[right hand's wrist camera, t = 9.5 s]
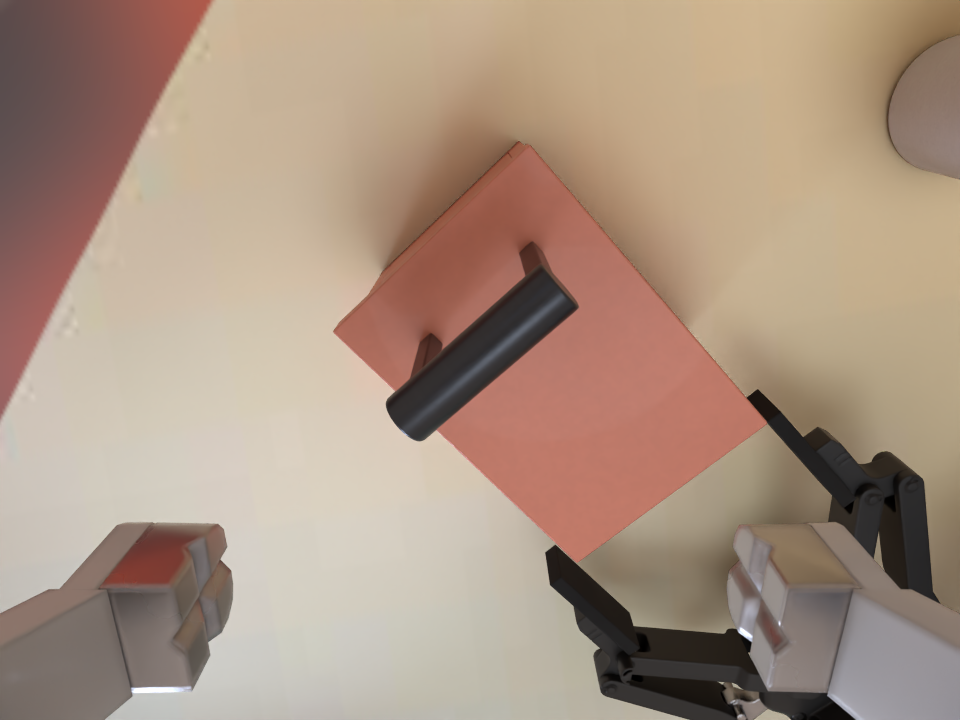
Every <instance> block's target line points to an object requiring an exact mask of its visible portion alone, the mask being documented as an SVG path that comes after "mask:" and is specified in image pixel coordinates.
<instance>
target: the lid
mask: <svg viewBox="0 0 960 720" xmlns="http://www.w3.org/2000/svg"><path fill="white" fill-rule="evenodd" d="M333 332H334V334H335V335H337V336H338V337H339V338H340V339H341V340H342V341H343V342H344V343H345V344H346V345H347V346H348V347H349V348H350V349H351V350H352V351H353V352H354V353H356V354H357V355H358V356H359V357H360V358H361V359H362V360H363V361H364V362H365V363H366V364H367V365H368V366H369V367H370V368H371V369H372V370H373V371H375V372H376V373H377V374H378V375H379V376H380V377H381V378H382V379H383V380H384V381H385V382H386V383H387V384H388V385H389V386H390V387H391V388H392V389H394V390H395V391H396V392H394V393H393V394H392V395H391V396H390V397H389V398H388V399H387V401H386V408H387V411H388V413H389V415H390V417H391V419H392V420H393V422H394V423H395V424H396V426H397V427H398V428H399V429H400V430H401V431H402V432H403V433H404V434H406V435H407V436H408V437H410V438H411V439H413V440H416V441H423V440H425V439H426V438H427V437H428V436H430V435H431V434H432V433H433V432H434V431H435V430H437V431H438V432H439V433H440V434H441V435H442V436H443V437H444V438H445V439H446V440H447V441H448V442H450V443H451V444H452V445H453V446H454V447H455V448H456V449H457V450H458V451H459V452H460V453H461V454H462V455H463V456H464V457H465V458H466V459H467V460H469V461H470V462H471V463H472V464H473V465H474V466H475V467H476V468H477V469H478V470H479V471H480V472H481V473H482V474H483V475H484V476H485V477H486V478H488V479H489V480H490V481H491V482H492V483H493V484H494V485H495V486H496V487H497V488H498V489H499V490H500V491H501V492H502V493H503V494H504V495H505V496H507V497H508V498H509V499H510V500H511V501H512V502H513V503H514V504H515V505H516V506H517V507H518V508H519V509H520V510H521V511H522V512H523V513H525V514H526V515H527V516H528V517H529V518H530V519H531V520H532V521H533V522H534V523H535V524H536V525H537V526H538V527H539V528H540V529H541V530H542V531H544V532H545V533H546V534H547V535H548V536H549V537H550V538H551V539H552V540H553V541H554V542H555V543H556V544H557V545H558V546H559V547H560V548H561V549H563V550H564V551H565V552H566V553H567V554H568V555H569V556H570V557H571V558H572V559H573V560H574V561H575V562H576V563H577V562H579V561H580V560H582V559H583V558H585V557H586V556H587V555H589V554H590V553H591V552H593V551H594V550H595V549H597V548H598V547H600V546H601V545H602V544H604V543H605V542H606V541H608V540H609V539H610V538H612V537H613V536H615V535H616V534H617V533H619V532H620V531H621V530H623V529H624V528H626V527H627V526H628V525H630V524H631V523H632V522H634V521H635V520H636V519H638V518H639V517H641V516H642V515H643V514H645V513H646V512H647V511H649V510H650V509H652V508H653V507H654V506H656V505H657V504H658V503H660V502H661V501H662V500H664V499H665V498H667V497H668V496H669V495H671V494H672V493H673V492H675V491H676V490H677V489H679V488H680V487H682V486H683V485H684V484H686V483H687V482H688V481H690V480H691V479H693V478H694V477H695V476H697V475H698V474H699V473H701V472H702V471H703V470H705V469H706V468H708V467H709V466H710V465H712V464H713V463H714V462H716V461H717V460H719V459H720V458H721V457H723V456H724V455H725V454H727V453H728V452H729V451H731V450H732V449H734V448H735V447H736V446H738V445H739V444H740V443H742V442H743V441H744V440H746V439H747V438H749V437H750V436H751V435H753V434H754V433H755V432H757V431H758V430H760V429H761V428H762V427H764V426H765V425H766V424H767V421H766V420H765V419H764V418H763V417H762V416H761V414H760V413H759V412H758V411H757V410H756V409H755V407H754V406H753V405H752V404H751V403H750V401H749V400H748V399H747V398H746V397H745V396H744V394H743V393H742V392H741V391H740V390H739V389H738V387H737V386H736V385H735V384H734V383H733V382H732V380H731V379H730V378H729V377H728V376H727V375H726V373H725V372H724V371H723V370H722V369H721V368H720V366H719V365H718V364H717V363H716V362H715V361H714V359H713V358H712V357H711V356H710V355H709V354H708V352H707V351H706V350H705V349H704V348H703V347H702V345H701V344H700V343H699V342H698V341H697V340H696V338H695V337H694V336H693V335H692V334H691V333H690V331H689V330H688V329H687V328H686V327H685V326H684V324H683V323H682V322H681V321H680V320H679V318H678V317H677V316H676V315H675V314H674V313H673V311H672V310H671V309H670V308H669V307H668V306H667V304H666V303H665V302H664V301H663V300H662V299H661V297H660V296H659V295H658V294H657V293H656V292H655V290H654V289H653V288H652V287H651V286H650V285H649V283H648V282H647V281H646V280H645V279H644V278H643V276H642V275H641V274H640V273H639V272H638V271H637V269H636V268H635V267H634V266H633V265H632V264H631V262H630V261H629V260H628V259H627V258H626V257H625V255H624V254H623V253H622V252H621V251H620V250H619V248H618V247H617V246H616V245H615V244H614V243H613V241H612V240H611V239H610V238H609V237H608V235H607V234H606V233H605V232H604V231H603V230H602V228H601V227H600V226H599V225H598V224H597V223H596V221H595V220H594V219H593V218H592V217H591V216H590V214H589V213H588V212H587V211H586V210H585V209H584V207H583V206H582V205H581V204H580V203H579V202H578V200H577V199H576V198H575V197H574V196H573V195H572V193H571V192H570V191H569V190H568V189H567V188H566V186H565V185H564V184H563V183H562V182H561V181H560V179H559V178H558V177H557V176H556V175H555V174H554V172H553V171H552V170H551V169H550V168H549V167H548V165H547V164H546V163H545V162H544V161H543V160H542V158H541V157H540V156H539V155H538V154H537V153H536V151H535V150H534V149H533V148H532V147H531V146H530V145H528V144H526V145H525V146H524V147H523V148H522V149H521V150H520V151H519V152H518V153H516V154H515V155H514V156H513V157H512V158H511V159H510V160H509V161H508V162H507V163H506V164H505V165H504V166H503V167H502V168H501V169H500V170H499V171H498V172H497V173H496V174H494V175H493V176H492V177H491V178H490V179H489V180H488V181H487V182H486V183H485V184H484V185H483V186H482V187H481V188H480V189H479V190H478V191H477V192H476V193H475V194H473V195H472V196H471V197H470V198H469V199H468V200H467V201H466V202H465V203H464V204H463V205H462V206H461V207H460V208H459V209H458V210H457V211H456V212H455V213H454V214H453V215H451V216H450V217H449V218H448V219H447V220H446V221H445V222H444V223H443V224H442V225H441V226H440V227H439V228H438V229H437V230H436V231H435V232H434V233H433V234H432V235H430V236H429V237H428V238H427V239H426V240H425V241H424V242H423V243H422V244H421V245H420V246H419V247H418V248H417V249H416V250H415V251H414V252H413V253H412V254H411V255H410V256H408V257H407V258H406V259H405V260H404V261H403V262H402V263H401V264H400V265H399V266H398V267H397V268H396V269H395V270H394V271H393V272H392V273H391V274H390V275H389V276H387V277H386V278H385V279H384V280H383V281H382V282H381V283H380V284H379V285H378V286H377V287H376V288H375V289H374V290H373V291H372V292H371V293H370V294H369V295H368V296H367V297H365V298H364V299H363V300H362V301H361V302H360V303H359V304H358V305H357V306H356V307H355V308H354V309H353V310H352V311H351V312H350V313H349V314H348V315H347V316H346V317H344V318H343V319H342V320H341V321H340V322H339V324H338V325H337V326H336V328H335V329H334V331H333Z"/></svg>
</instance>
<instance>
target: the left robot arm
mask: <svg viewBox="0 0 960 720" xmlns="http://www.w3.org/2000/svg"><path fill="white" fill-rule="evenodd" d="M747 399H748V400H749V401H750V403H751V404H752V405H753V406H754V407H755V409H756V410H757V411H758V412H759V413H760V414H761V416H762V417H763V418H764V419H765V420H766V421H767V423H768V424H769V426H770V427H771V428H772V429H773V430H774V431H775V432H776V433H777V435H778V436H779V437H780V438H781V439H782V440H783V441H784V442H785V444H786V445H787V446H788V447H789V448H790V449H791V450H792V451H793V453H794V454H795V455H796V456H797V457H798V458H799V459H800V460H801V462H802V463H803V464H804V465H805V466H806V467H807V468H808V470H809V471H810V472H811V473H812V474H813V475H814V476H815V477H816V479H817V480H818V481H819V482H820V483H821V484H822V485H823V486H824V487H825V488H826V489H827V490H828V492H829V493H830V494H831V495H832V500H831V507H830V513H829V520H828V522H836V523H839V524H841V525H843V526H844V527H845V528H846V529H847V530H848V531H849V532H850V533H851V535H852V536H853V537H854V538H855V539H856V540H857V541H858V542H859V543H860V545H861V546H862V547H863V548H864V549H865V550H866V551H867V552H868V553H869V555H870V556H871V557H872V558H873V559H874V554H875V548H876V543H877V537H878V532H879V536H880V545H881V554H882V562H883V567H884V570H885V572H886V574H887V575H888V576H889V577H890V578H891V579H892V580H893V581H894V582H895V584H896V585H897V586H898V587H899V588H900V589H911V590H913V591H915V592H917V593H919V594H921V595H923V596H925V597H927V598H929V599H931V600H933V601H935V602H937V603H939V604H940V602H939V601H938V599H937V597H936V596H935V594H934V593H933V588H932V576H931V563H930V551H929V539H928V526H927V514H926V501H925V489H924V481H923V479H922V478H921V477H920V476H919V475H918V474H916V473H915V472H914V471H913V470H912V469H910V468H909V467H908V466H907V465H906V464H904V463H903V462H902V461H901V460H899V459H898V458H897V457H896V456H894V455H893V454H892V453H891V452H887V451H885V452H880V453H878V454H877V455H876V456H874V458H873V459H872V462H870V463H867V464H858V463H857V462H856V461H855V460H854V459H853V457H852V456H851V455H850V454H849V453H848V452H847V450H846V449H845V448H844V447H843V446H842V445H841V444H840V443H839V442H838V441H837V440H836V439H835V438H834V437H833V436H832V435H831V434H830V433H828V432H827V431H826V430H824V429H821V428H819V427H817V428H815V429H814V430H813V431H811V432H810V433H809V434H807V435H806V436H804V437H802V436H801V434H800V433H799V432H798V431H797V430H796V429H795V428H794V426H793V425H792V424H791V423H790V422H789V421H788V420H787V418H786V417H785V416H784V415H783V414H782V413H781V412H780V411H779V410H778V409H777V408H776V407H775V406H774V405H773V404H772V403H771V402H770V401H769V400H768V399H767V398H766V397H765V396H764V395H763V394H762V393H761V392H760V391H759V390H758V389H757V390H756V391H755V392H753V393H752V394H751V395H750V396H748V397H747ZM545 554H546V560H547V567H548V574H549V581H550V585H551V586H552V587H553V588H554V589H555V590H556V591H557V592H558V593H560V594H561V595H562V596H563V597H564V598H565V599H566V600H567V601H569V602H570V603H571V604H572V605H573V606H574V611H575V616H576V622H577V625H578V627H579V629H580V631H581V632H582V633H583V634H585V635H586V636H587V637H588V638H589V639H590V640H592V641H593V642H594V643H595V644H596V645H597V646H598V647H599V648H600V649H598V650H596V652H595V653H594V656H593V657H594V662H595V667H596V672H597V676H598V681H599V686H600V690H601V693H602V694H603V695H605V696H607V697H610V698H614V699H617V700H621V701H625V702H628V703H632V704H635V705H639V706H642V707H646V708H650V709H653V710H657V711H660V712H664V713H667V714H671V715H675V716H678V717H682V718H685V719H689V720H754V719H755V718H756V717H758V716H759V715H760V714H762V713H763V712H764V711H766V710H767V709H770V710H772V711H775V712H779V713H782V714H785V715H787V716H788V717H789V718H790V719H791V720H856V719H855V718H853V717H852V716H851V715H850V714H849V713H847V712H846V711H845V710H844V709H843V708H841V707H840V706H839V705H838V704H837V703H835V702H834V701H833V700H832V699H831V698H830V697H828V696H827V695H828V693H814V692H779V691H768V690H767V688H766V686H765V684H764V682H763V680H762V678H761V676H760V674H759V672H758V670H757V669H756V667H755V665H754V663H753V661H752V660H751V658H750V656H749V654H748V652H750V650H751V645H752V642H751V641H750V640H748V639H747V638H745V637H744V636H743V635H741V634H740V633H738V631H737V629H728V630H727V631H726V633H725V634H718V633H706V632H695V631H683V630H671V629H660V628H648V627H636V626H633V623H632V620H631V616H630V613H629V612H628V611H627V610H626V609H625V608H624V607H623V606H622V605H621V604H620V603H618V602H617V601H616V600H615V599H614V598H613V597H612V596H611V595H610V594H609V593H608V592H606V591H605V590H604V589H603V588H602V587H601V586H600V585H599V584H598V583H597V582H596V581H594V580H593V579H592V578H591V577H590V576H589V575H588V574H587V573H586V572H585V571H584V570H582V569H581V568H580V567H579V566H578V565H577V564H576V563H575V562H574V561H573V560H572V559H570V558H569V557H568V556H567V555H566V554H565V553H564V552H563V551H562V550H561V549H560V548H558V547H557V546H556V545H554V546H553V547H552V548H551V549H549V550H548V551H547V552H545ZM717 681H718V682H717ZM719 682H724V683H723V685H722V684H720V683H719ZM732 683H735V684H737V685H738V686H739V687H740V688H742V689H738V688H736V687H733V685H732ZM743 689H744V690H743Z"/></svg>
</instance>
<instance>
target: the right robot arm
mask: <svg viewBox="0 0 960 720" xmlns="http://www.w3.org/2000/svg"><path fill="white" fill-rule="evenodd" d="M226 548H227V543H226V538H225V533H224V529H223V528H222V527H221V526H220V525H219V524H198V523H152V522H142V523H123V524H119V525H117V526H116V527H115V528H114V529H113V530H112V531H111V532H110V533H109V535H108V536H107V537H106V538H105V539H104V540H103V541H102V542H101V543H100V545H99V546H98V547H97V548H96V549H95V550H94V551H93V552H92V553H91V555H90V556H89V557H88V558H87V559H86V560H85V561H84V562H83V563H82V565H81V566H80V567H79V568H78V569H77V570H76V571H75V572H74V573H73V575H72V576H71V577H70V578H69V579H68V580H67V581H66V582H65V584H64V585H63V586H62V587H61V588H60V589H49V590H47V591H45V592H43V593H41V594H39V595H37V596H35V597H33V598H31V599H29V600H27V601H25V602H23V603H21V604H18V605H16V606H14V607H12V608H10V609H8V610H6V611H4V612H2V613H0V720H105V719H106V718H107V717H108V716H109V715H111V714H112V713H113V712H114V711H115V710H116V709H118V708H119V707H120V706H121V705H122V704H124V703H125V702H126V701H127V700H128V699H130V698H131V697H132V693H145V692H180V691H192V690H193V688H194V686H195V684H196V682H197V680H198V678H199V676H200V674H201V673H202V671H203V669H204V667H205V665H206V663H207V661H208V659H209V657H210V650H209V645H208V642H209V641H210V640H212V639H213V638H215V637H216V636H217V635H219V634H220V633H222V631H223V629H224V627H225V624H226V622H227V620H228V618H229V614H230V609H231V605H232V600H233V580H232V573H231V570H230V569H229V568H228V567H227V566H226V565H225V564H224V563H223V562H222V561H221V560H220V559H221V557H222V555H223V554H224V552H225V550H226ZM733 548H734V550H735V552H736V554H737V555H738V557H739V559H740V560H739V561H738V562H737V563H736V564H735V565H734V566H733V567H732V568H731V569H730V570H729V574H728V582H727V597H728V607H729V610H730V614H731V617H732V620H733V622H734V625H735V627H736V629H737V631H738V633H740V634H741V635H743V636H744V637H745V638H747V639H748V640H750V641H751V642H752V645H751V650H750V657H751V659H752V661H753V663H754V665H755V667H756V669H757V670H758V672H759V674H760V676H761V678H762V680H763V682H764V684H765V686H766V688H767V690H768V691H779V692H814V693H828V695H827V696H828V697H830V698H831V699H832V700H833V701H834V702H835V703H837V704H838V705H839V706H840V707H841V708H843V709H844V710H845V711H846V712H847V713H849V714H850V715H851V716H852V717H853V718H855V719H856V720H960V614H959V613H957V612H955V611H953V610H951V609H949V608H947V607H945V606H943V605H941V604H939V603H937V602H935V601H933V600H931V599H929V598H927V597H925V596H923V595H921V594H919V593H917V592H915V591H913V590H911V589H900V588H899V587H898V586H897V585H896V584H895V582H894V581H893V580H892V579H891V578H890V577H889V576H888V575H887V574H886V572H885V571H884V570H883V569H882V568H881V567H880V566H879V565H878V564H877V562H876V561H875V560H874V559H873V558H872V557H871V556H870V555H869V553H868V552H867V551H866V550H865V549H864V548H863V547H862V546H861V545H860V543H859V542H858V541H857V540H856V539H855V538H854V537H853V536H852V535H851V533H850V532H849V531H848V530H847V529H846V528H845V527H844V526H843V525H841V524H839V523H836V522H822V523H803V524H757V525H739V526H738V529H737V531H736V533H735V537H734V542H733Z"/></svg>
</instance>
